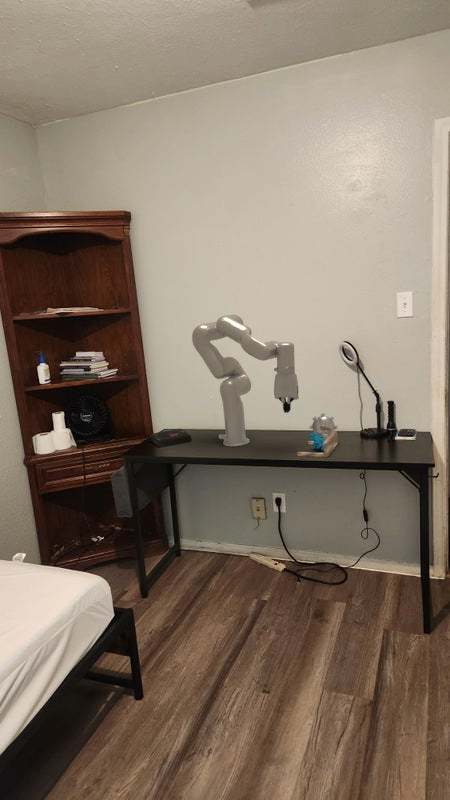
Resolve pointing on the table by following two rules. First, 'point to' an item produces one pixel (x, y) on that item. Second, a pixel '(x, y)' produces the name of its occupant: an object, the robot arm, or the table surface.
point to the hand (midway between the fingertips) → (286, 411)
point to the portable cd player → (170, 438)
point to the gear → (323, 426)
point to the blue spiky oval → (317, 440)
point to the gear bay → (327, 446)
